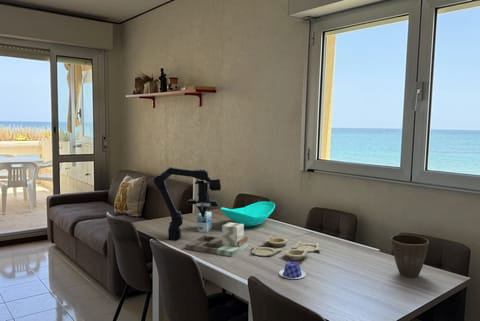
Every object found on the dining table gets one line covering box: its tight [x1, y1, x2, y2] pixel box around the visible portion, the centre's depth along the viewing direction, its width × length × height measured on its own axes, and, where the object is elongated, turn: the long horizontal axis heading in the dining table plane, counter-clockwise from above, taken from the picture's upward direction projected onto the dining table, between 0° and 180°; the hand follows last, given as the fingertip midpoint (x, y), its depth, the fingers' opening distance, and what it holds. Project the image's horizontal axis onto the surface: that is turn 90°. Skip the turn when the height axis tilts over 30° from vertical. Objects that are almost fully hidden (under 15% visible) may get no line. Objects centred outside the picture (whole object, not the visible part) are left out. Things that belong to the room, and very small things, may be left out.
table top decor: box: [220, 201, 276, 228], centre depth 251 cm, size 40×28×13 cm
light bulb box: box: [196, 211, 213, 233], centre depth 241 cm, size 11×7×11 cm, turn 168°
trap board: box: [185, 234, 249, 257], centre depth 205 cm, size 28×19×6 cm
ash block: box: [221, 221, 245, 246], centre depth 204 cm, size 9×8×10 cm
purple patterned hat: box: [278, 261, 307, 280], centre depth 167 cm, size 12×12×5 cm
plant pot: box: [390, 234, 430, 279], centre depth 165 cm, size 15×15×16 cm
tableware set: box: [251, 234, 322, 261], centre depth 199 cm, size 35×29×4 cm
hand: (203, 217), depth 224 cm, fingers closed
